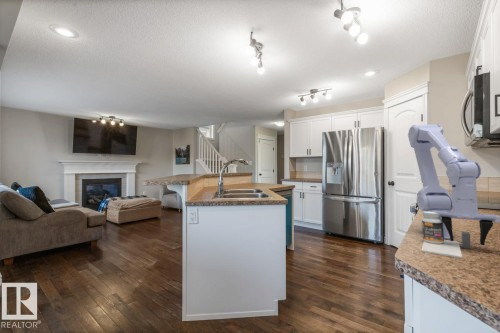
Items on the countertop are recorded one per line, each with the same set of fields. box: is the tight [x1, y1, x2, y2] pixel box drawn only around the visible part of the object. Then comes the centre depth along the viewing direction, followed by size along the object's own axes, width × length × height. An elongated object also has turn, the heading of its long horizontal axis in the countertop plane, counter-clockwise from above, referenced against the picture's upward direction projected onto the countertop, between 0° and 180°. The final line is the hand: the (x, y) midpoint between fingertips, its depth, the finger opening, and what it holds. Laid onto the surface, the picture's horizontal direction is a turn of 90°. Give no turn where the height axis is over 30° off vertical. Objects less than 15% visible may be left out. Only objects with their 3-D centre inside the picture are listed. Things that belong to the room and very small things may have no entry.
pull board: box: [421, 231, 472, 259], centre depth 71 cm, size 18×12×4 cm, turn 139°
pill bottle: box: [421, 211, 445, 244], centre depth 76 cm, size 6×6×10 cm
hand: (466, 242), depth 70 cm, fingers open, 6 cm apart
